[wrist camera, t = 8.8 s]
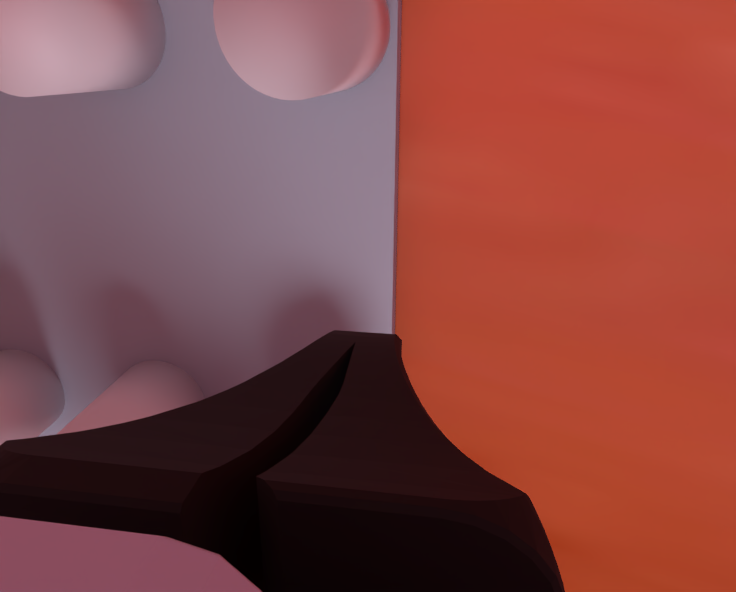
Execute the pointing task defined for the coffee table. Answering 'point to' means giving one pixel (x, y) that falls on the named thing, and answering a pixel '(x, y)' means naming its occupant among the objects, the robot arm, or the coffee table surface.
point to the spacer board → (187, 197)
